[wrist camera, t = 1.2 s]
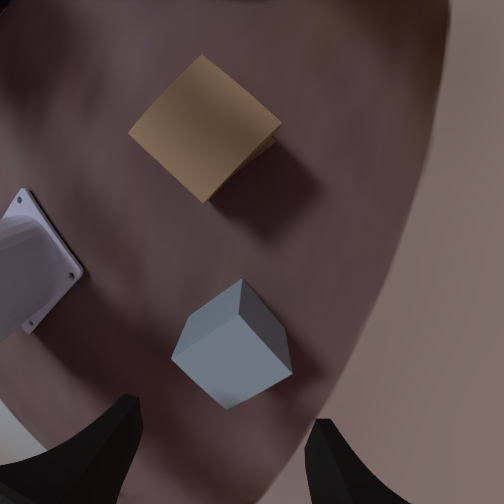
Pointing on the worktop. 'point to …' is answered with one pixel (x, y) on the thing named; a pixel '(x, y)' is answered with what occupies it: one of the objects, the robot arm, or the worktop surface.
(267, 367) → the blue block
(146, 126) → the tower top slab
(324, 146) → the worktop surface
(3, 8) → the storage jar
